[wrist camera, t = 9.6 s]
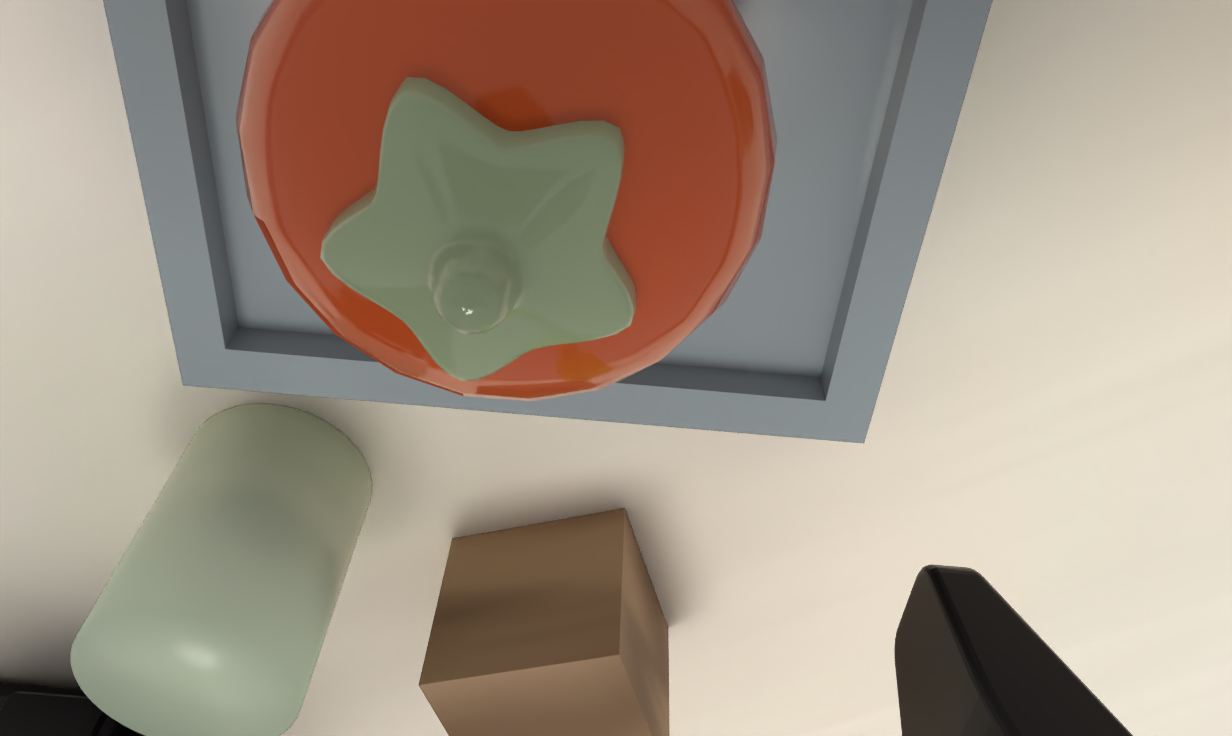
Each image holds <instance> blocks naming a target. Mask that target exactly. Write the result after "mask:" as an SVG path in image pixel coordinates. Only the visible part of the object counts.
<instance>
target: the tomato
mask: <svg viewBox="0 0 1232 736" xmlns="http://www.w3.org/2000/svg"><path fill="white" fill-rule="evenodd" d="M235 118H236V125H237V132H238V139H239V146H240V152H241V159H242V166H243V173H244V180H245V187H246V194H247V198H248V201H249V203H250V206H251V209H252V212H253V215H254V217H255V219H256V221H257V223H258V225H259V227H260V229H261V231H262V233H263V235H264V237H265V239H266V241H267V243H268V245H269V247H270V249H271V251H272V253H273V255H274V257H275V259H276V261H277V263H278V265H279V267H280V269H281V271H282V273H283V275H284V277H285V279H286V281H287V282H288V283H289V284H290V285H291V286H292V287H293V288H294V289H295V291H296V292H297V293H298V294H299V295H300V296H301V297H302V298H303V299H304V301H305V302H306V303H307V304H308V305H309V306H310V307H311V308H312V309H313V310H314V312H315V313H316V314H317V315H318V316H319V317H320V318H321V319H322V320H323V321H324V323H325V324H326V325H327V326H328V327H329V328H330V329H331V330H332V331H333V332H334V334H335V335H337V336H339V337H340V338H342V339H343V340H345V341H346V342H348V343H350V344H351V345H353V346H354V347H356V348H357V349H359V350H360V351H362V352H364V353H365V354H367V355H368V356H370V357H371V358H373V359H375V360H376V361H378V362H379V363H381V364H382V365H384V366H386V367H387V368H389V369H390V370H392V371H393V372H395V373H397V374H400V375H403V376H406V377H409V378H412V379H414V380H417V381H420V382H423V383H426V384H429V385H432V386H435V387H438V388H441V389H444V390H447V391H450V392H453V393H456V394H459V395H461V396H468V397H481V398H494V399H507V400H520V401H538V400H544V399H550V398H556V397H561V396H567V395H573V394H579V393H584V392H590V391H596V390H601V389H603V388H605V387H607V386H609V385H611V384H613V383H615V382H617V381H619V380H621V379H623V378H626V377H628V376H630V375H632V374H634V373H636V372H638V371H640V370H642V369H644V368H646V367H648V366H650V365H652V364H655V363H657V362H659V361H661V360H662V359H663V358H664V357H665V356H667V355H668V354H669V353H670V352H671V351H672V350H673V349H675V348H676V347H677V346H678V345H679V344H680V343H681V342H682V341H683V340H684V339H686V338H687V337H688V336H689V335H690V334H691V333H692V332H693V331H694V330H695V329H697V328H698V327H699V326H700V325H701V324H702V323H703V322H704V321H705V320H706V319H708V318H709V317H710V316H711V315H712V314H713V313H714V312H715V311H716V310H717V309H719V308H720V307H721V306H722V305H723V304H724V303H725V302H726V301H727V299H728V297H729V295H730V293H731V292H732V290H733V288H734V286H735V284H736V283H737V281H738V279H739V277H740V275H741V274H742V272H743V270H744V268H745V266H746V264H747V263H748V261H749V259H750V257H751V255H752V254H753V252H754V250H755V248H756V246H757V245H758V243H759V241H760V239H761V236H762V230H763V225H764V219H765V214H766V208H767V203H768V197H769V192H770V186H771V181H772V176H773V170H774V165H775V156H776V146H777V135H776V129H775V123H774V117H773V111H772V105H771V99H770V92H769V86H768V80H767V74H766V68H765V62H764V58H763V56H762V54H761V52H760V50H759V48H758V46H757V44H756V43H755V41H754V39H753V37H752V35H751V33H750V31H749V29H748V28H747V26H746V24H745V22H744V20H743V18H742V16H741V14H740V12H739V11H738V9H737V7H736V5H735V3H734V1H733V0H272V1H271V3H270V4H269V6H268V7H267V9H266V10H265V12H264V14H263V15H262V17H261V19H260V21H259V23H258V25H257V27H256V29H255V31H254V33H253V35H252V37H251V40H250V45H249V50H248V55H247V61H246V66H245V71H244V76H243V81H242V86H241V92H240V97H239V102H238V107H237V112H236V117H235Z"/></svg>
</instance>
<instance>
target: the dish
mask: <svg viewBox="0 0 1232 736" xmlns="http://www.w3.org/2000/svg"><path fill="white" fill-rule="evenodd" d="M271 1H272V0H103V2H104V7H105V12H106V16H107V21H108V26H109V31H110V36H111V40H112V45H113V50H114V55H115V60H116V65H117V69H118V74H119V79H120V84H121V89H122V94H123V98H124V103H125V108H126V113H127V118H128V123H129V127H130V132H131V137H132V142H133V147H134V152H135V156H136V161H137V166H138V171H139V176H140V180H141V185H142V190H143V195H144V200H145V205H146V209H147V214H148V219H149V224H150V229H151V234H152V238H153V243H154V248H155V253H156V258H157V263H158V267H159V272H160V277H161V282H162V287H163V291H164V296H165V301H166V306H167V311H168V316H169V320H170V325H171V330H172V335H173V340H174V345H175V349H176V354H177V359H178V364H179V369H180V374H181V378H182V383H183V385H186V386H197V387H209V388H221V389H233V390H244V391H256V392H268V393H279V394H291V395H303V396H315V397H326V398H338V399H350V400H361V401H373V402H385V403H397V404H408V405H420V406H432V407H444V408H455V409H467V410H479V411H490V412H502V413H514V414H526V415H537V416H549V417H561V418H573V419H584V420H596V421H608V422H619V423H631V424H643V425H655V426H666V427H678V428H690V429H701V430H713V431H725V432H737V433H748V434H760V435H772V436H784V437H795V438H807V439H819V440H830V441H842V442H854V443H864V442H865V438H866V435H867V431H868V428H869V424H870V421H871V417H872V414H873V411H874V407H875V404H876V400H877V397H878V393H879V390H880V386H881V383H882V380H883V376H884V373H885V369H886V366H887V362H888V359H889V355H890V352H891V349H892V345H893V342H894V338H895V335H896V331H897V328H898V324H899V321H900V318H901V314H902V311H903V307H904V304H905V300H906V297H907V293H908V290H909V286H910V283H911V280H912V276H913V273H914V269H915V266H916V262H917V259H918V255H919V252H920V249H921V245H922V242H923V238H924V235H925V231H926V228H927V224H928V221H929V218H930V214H931V211H932V207H933V204H934V200H935V197H936V193H937V190H938V187H939V183H940V180H941V176H942V173H943V169H944V166H945V162H946V159H947V156H948V152H949V149H950V145H951V142H952V138H953V135H954V131H955V128H956V125H957V121H958V118H959V114H960V111H961V107H962V104H963V100H964V97H965V94H966V90H967V87H968V83H969V80H970V76H971V73H972V69H973V66H974V62H975V59H976V56H977V52H978V49H979V45H980V42H981V38H982V35H983V31H984V28H985V25H986V21H987V18H988V14H989V11H990V7H991V4H992V0H733V1H734V3H735V5H736V7H737V9H738V11H739V12H740V14H741V16H742V18H743V20H744V22H745V24H746V26H747V28H748V29H749V31H750V33H751V35H752V37H753V39H754V41H755V43H756V44H757V46H758V48H759V50H760V52H761V54H762V56H763V58H764V62H765V68H766V74H767V80H768V86H769V92H770V99H771V105H772V111H773V117H774V123H775V129H776V135H777V146H776V156H775V165H774V170H773V176H772V181H771V186H770V192H769V197H768V203H767V208H766V214H765V219H764V225H763V230H762V236H761V239H760V241H759V243H758V245H757V246H756V248H755V250H754V252H753V254H752V255H751V257H750V259H749V261H748V263H747V264H746V266H745V268H744V270H743V272H742V274H741V275H740V277H739V279H738V281H737V283H736V284H735V286H734V288H733V290H732V292H731V293H730V295H729V297H728V299H727V301H726V302H725V303H724V304H723V305H722V306H721V307H720V308H719V309H717V310H716V311H715V312H714V313H713V314H712V315H711V316H710V317H709V318H708V319H706V320H705V321H704V322H703V323H702V324H701V325H700V326H699V327H698V328H697V329H695V330H694V331H693V332H692V333H691V334H690V335H689V336H688V337H687V338H686V339H684V340H683V341H682V342H681V343H680V344H679V345H678V346H677V347H676V348H675V349H673V350H672V351H671V352H670V353H669V354H668V355H667V356H665V357H664V358H663V359H662V360H661V361H659V362H657V363H655V364H652V365H650V366H648V367H646V368H644V369H642V370H640V371H638V372H636V373H634V374H632V375H630V376H628V377H626V378H623V379H621V380H619V381H617V382H615V383H613V384H611V385H609V386H607V387H605V388H603V389H601V390H596V391H590V392H584V393H579V394H573V395H567V396H561V397H556V398H550V399H544V400H538V401H520V400H507V399H494V398H481V397H468V396H461V395H459V394H456V393H453V392H450V391H447V390H444V389H441V388H438V387H435V386H432V385H429V384H426V383H423V382H420V381H417V380H414V379H412V378H409V377H406V376H403V375H400V374H397V373H395V372H393V371H392V370H390V369H389V368H387V367H386V366H384V365H382V364H381V363H379V362H378V361H376V360H375V359H373V358H371V357H370V356H368V355H367V354H365V353H364V352H362V351H360V350H359V349H357V348H356V347H354V346H353V345H351V344H350V343H348V342H346V341H345V340H343V339H342V338H340V337H339V336H337V335H335V334H334V332H333V331H332V330H331V329H330V328H329V327H328V326H327V325H326V324H325V323H324V321H323V320H322V319H321V318H320V317H319V316H318V315H317V314H316V313H315V312H314V310H313V309H312V308H311V307H310V306H309V305H308V304H307V303H306V302H305V301H304V299H303V298H302V297H301V296H300V295H299V294H298V293H297V292H296V291H295V289H294V288H293V287H292V286H291V285H290V284H289V283H288V282H287V281H286V279H285V277H284V275H283V273H282V271H281V269H280V267H279V265H278V263H277V261H276V259H275V257H274V255H273V253H272V251H271V249H270V247H269V245H268V243H267V241H266V239H265V237H264V235H263V233H262V231H261V229H260V227H259V225H258V223H257V221H256V219H255V217H254V215H253V212H252V209H251V206H250V203H249V201H248V198H247V194H246V187H245V180H244V173H243V166H242V159H241V152H240V146H239V139H238V132H237V125H236V118H235V117H236V112H237V107H238V102H239V97H240V92H241V86H242V81H243V76H244V71H245V66H246V61H247V55H248V50H249V45H250V40H251V37H252V35H253V33H254V31H255V29H256V27H257V25H258V23H259V21H260V19H261V17H262V15H263V14H264V12H265V10H266V9H267V7H268V6H269V4H270V3H271Z"/></svg>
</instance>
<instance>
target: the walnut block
mask: <svg viewBox="0 0 1232 736" xmlns="http://www.w3.org/2000/svg"><path fill="white" fill-rule="evenodd" d="M419 687H420V688H421V690H422V692H423V693H424V695H425V697H426V698H427V700H428V702H429V703H430V705H431V707H432V708H433V710H434V712H435V713H436V715H437V717H438V718H439V720H440V722H441V723H442V725H443V727H444V728H445V730H446V732H447V733H448V735H449V736H669V654H668V626H667V623H666V621H665V618H664V615H663V612H662V610H661V607H660V604H659V601H658V599H657V596H656V593H655V590H654V587H653V585H652V582H651V579H650V576H649V574H648V571H647V568H646V565H645V563H644V560H643V557H642V554H641V552H640V549H639V546H638V543H637V541H636V538H635V535H634V532H633V530H632V527H631V524H630V521H629V519H628V516H627V513H626V510H625V508H623V509H617V510H612V511H606V512H600V513H595V514H589V515H583V516H578V517H572V518H567V519H561V520H555V521H550V522H544V523H538V524H533V525H527V526H521V527H516V528H510V529H504V530H499V531H493V532H488V533H482V534H476V535H471V536H465V537H459V538H454V539H452V542H451V546H450V551H449V555H448V559H447V564H446V568H445V572H444V577H443V581H442V585H441V590H440V594H439V599H438V603H437V607H436V612H435V616H434V620H433V625H432V629H431V633H430V638H429V642H428V647H427V651H426V655H425V660H424V664H423V668H422V673H421V677H420V681H419Z"/></svg>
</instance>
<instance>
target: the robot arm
mask: <svg viewBox="0 0 1232 736" xmlns="http://www.w3.org/2000/svg"><path fill="white" fill-rule="evenodd" d="M895 667H896V677H897V687H898V697H899V708H900V718H901V728H902V736H1133V735H1132V734H1131V733H1130V732H1129V731H1128V730H1127V729H1126V728H1125V727H1124V726H1123V725H1122V723H1121V722H1120V721H1119V720H1118V719H1117V718H1116V717H1115V716H1114V715H1113V714H1112V713H1111V712H1110V711H1109V710H1108V709H1107V708H1106V706H1105V705H1104V704H1103V703H1102V702H1101V701H1100V700H1099V699H1098V698H1097V697H1096V696H1095V695H1094V694H1093V693H1092V692H1091V691H1090V690H1089V688H1088V687H1087V686H1086V685H1085V684H1084V683H1083V682H1082V681H1081V680H1080V679H1079V678H1078V677H1077V676H1076V675H1075V674H1074V673H1073V671H1072V670H1071V669H1070V668H1069V667H1068V666H1067V665H1066V664H1065V663H1064V662H1063V661H1062V660H1061V659H1060V658H1059V657H1058V656H1057V655H1056V653H1055V652H1054V651H1053V650H1052V649H1051V648H1050V647H1049V646H1048V645H1047V644H1046V643H1045V642H1044V641H1043V640H1042V639H1041V638H1040V636H1039V635H1038V634H1037V633H1036V632H1035V631H1034V630H1033V629H1032V628H1031V627H1030V626H1029V625H1028V624H1027V623H1026V622H1025V621H1024V620H1023V618H1022V617H1021V616H1020V615H1019V614H1018V613H1017V612H1016V611H1015V610H1014V609H1013V608H1012V607H1011V606H1010V605H1009V604H1008V603H1007V601H1006V600H1005V599H1004V598H1003V597H1002V596H1001V595H1000V594H999V593H998V592H997V591H996V590H995V589H994V588H993V587H992V586H991V584H990V583H989V582H988V581H987V580H986V579H985V578H984V577H983V576H982V575H981V574H980V573H978V572H977V571H975V570H973V569H971V568H966V567H954V566H943V565H928V566H925V567H923V568H922V569H921V571H920V572H919V573H918V575H917V577H916V580H915V583H914V585H913V588H912V591H911V594H910V596H909V599H908V602H907V604H906V607H905V610H904V613H903V615H902V618H901V621H900V623H899V626H898V629H897V633H896V638H895ZM0 736H145V735H143V734H140V733H138V732H136V731H134V730H132V729H130V728H128V727H126V726H124V725H122V724H121V723H119V722H117V721H116V720H114V719H113V718H111V717H110V716H108V715H107V714H106V713H104V712H103V711H102V710H100V709H99V708H98V707H97V706H96V705H95V704H94V703H93V702H92V701H91V700H90V699H89V698H88V697H87V696H86V694H85V693H84V692H83V691H82V690H80V689H67V688H55V687H42V686H30V685H17V684H4V683H0Z"/></svg>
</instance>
